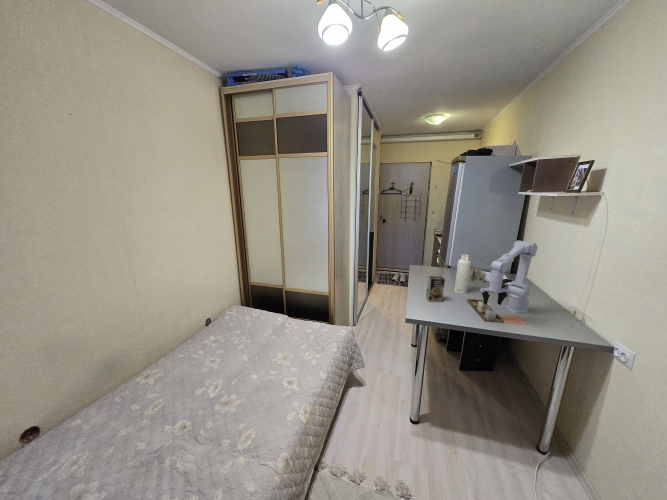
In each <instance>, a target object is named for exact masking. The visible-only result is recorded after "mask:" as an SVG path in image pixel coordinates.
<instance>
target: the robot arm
mask: <svg viewBox="0 0 667 500" xmlns="http://www.w3.org/2000/svg"><path fill="white" fill-rule="evenodd" d="M537 250H538V244H537V243H535V242H529V241H524V240H523V241H522V240H519V239H518V240H516V241H515V242H514V243H513V247H512V249H511V250H510V251H509V252H508V253H504V254H503V255H502V256H500V257H499V258H498V259H497V260H493V261H492V262H491V263H490V266H489V268H490V281H489V284H488V285H489V286H488V287H481V288H480V290H479V291H480V292H481V296H482V298H483V299H482V300H483V301H484V304H486V305H487V303H489V298H490V296H491V295H490V294H489V293H496V294H497V301H496V302H497V305H499V306H501V305H502V304H503V302H504V301H505V299H506V298H507V297H508V296H509V299H508V305H505V307H506V308H507V309H508V310H509V311H511V312H516V313H524V314H528V308H529V303H530V301H529V298H528V297H529V296H530V288H531V287H530V286H529V284H527V283H526V280H527V277H528V272H529V270H530V265H531V262H532V259H533V257H535V256H536V254H537ZM518 255H520V256H521V258H520V261H519V264H518V268H517V273H516V275H515V280H512V281H511V282H510V283H509V285H508V287H507V288H504V287H503V288H502V286H503V280H504V275H505V272H507V270H508V268H509V266H510V265H511V264H512V263H513V262H514V261H515V258H516V257H517V256H518Z"/></svg>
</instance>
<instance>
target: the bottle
mask: <svg viewBox="0 0 667 500" xmlns="http://www.w3.org/2000/svg"><path fill="white" fill-rule="evenodd" d="M469 258H470V255H469V254H465V253H462V254H461V256H460V259H458V261H457V265H456V275H455V282H454V283H455V284H454V292H455V293H456V294H463V295H464V294H467V290H468V284H469V282H468V278H469V271H470V265H471V262H472V261H470V260H469Z"/></svg>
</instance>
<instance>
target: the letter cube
mask: <svg viewBox="0 0 667 500" xmlns="http://www.w3.org/2000/svg"><path fill="white" fill-rule="evenodd" d="M491 306H492V305H491V304H490V303H489V302H488V303H487V305H486V304H484V302H481V301H478V307H477V309H478V310H479V311H482V312H485V311H486V310H490V308H492V307H491Z"/></svg>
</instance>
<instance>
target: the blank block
mask: <svg viewBox="0 0 667 500" xmlns="http://www.w3.org/2000/svg"><path fill="white" fill-rule="evenodd" d="M496 314H497V312H496V311H494V310H493V309H492V310H486V311H485V317H486V318H487V319H495V318H496Z"/></svg>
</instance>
